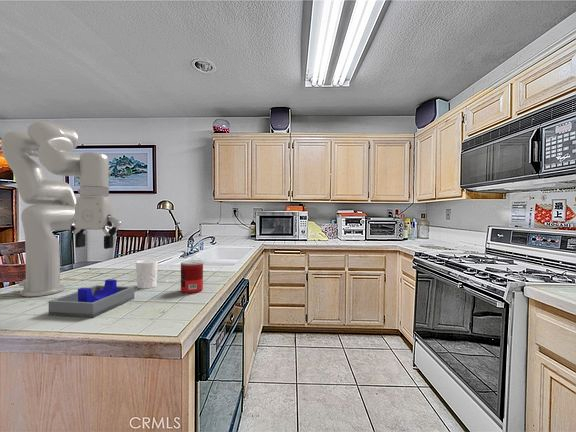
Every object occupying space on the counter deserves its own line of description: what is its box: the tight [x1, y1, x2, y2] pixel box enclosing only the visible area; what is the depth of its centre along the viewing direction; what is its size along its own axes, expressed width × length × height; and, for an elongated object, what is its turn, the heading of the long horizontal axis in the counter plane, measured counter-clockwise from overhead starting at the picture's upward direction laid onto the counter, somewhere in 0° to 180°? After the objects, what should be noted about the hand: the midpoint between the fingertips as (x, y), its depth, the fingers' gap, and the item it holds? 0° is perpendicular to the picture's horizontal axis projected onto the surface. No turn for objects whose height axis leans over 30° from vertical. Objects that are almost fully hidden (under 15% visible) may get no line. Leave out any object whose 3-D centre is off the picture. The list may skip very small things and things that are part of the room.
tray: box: [48, 284, 135, 319], centre depth 93 cm, size 14×18×4 cm
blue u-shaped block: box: [77, 278, 118, 303], centre depth 93 cm, size 12×4×6 cm, turn 172°
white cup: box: [135, 259, 159, 290], centre depth 116 cm, size 8×8×10 cm
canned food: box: [180, 259, 204, 295], centre depth 111 cm, size 8×8×11 cm
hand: (94, 247), depth 93 cm, fingers open, 9 cm apart
